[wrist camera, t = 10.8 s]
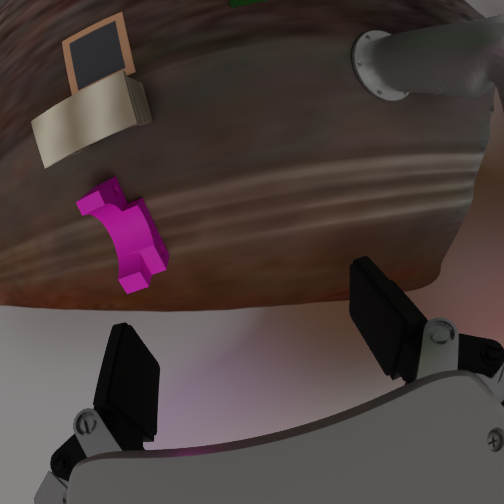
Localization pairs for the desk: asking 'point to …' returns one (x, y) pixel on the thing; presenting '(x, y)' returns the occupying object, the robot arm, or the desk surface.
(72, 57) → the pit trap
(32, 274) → the desk surface
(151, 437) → the robot arm
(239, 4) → the hardback book
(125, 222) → the toy block
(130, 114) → the tunnel
